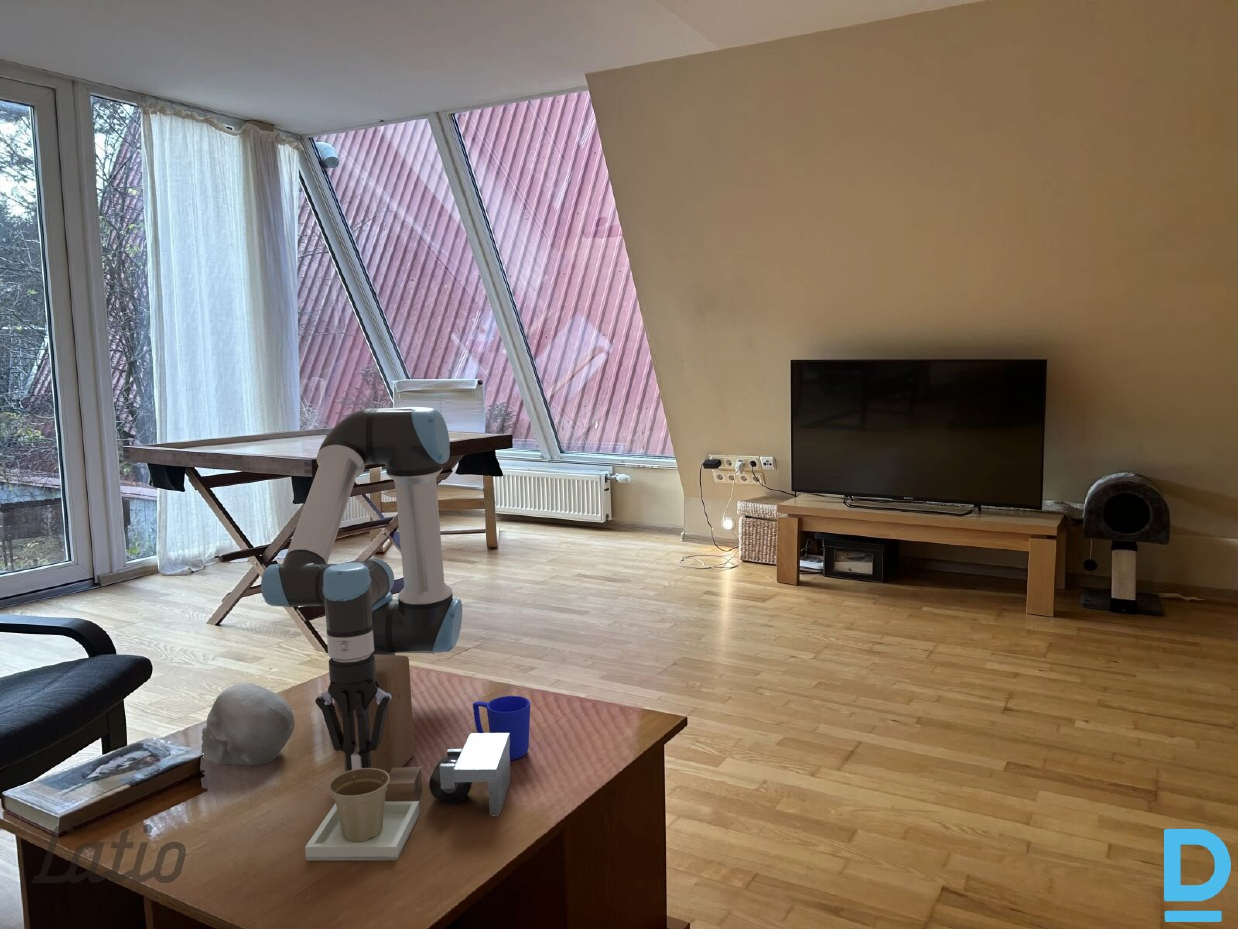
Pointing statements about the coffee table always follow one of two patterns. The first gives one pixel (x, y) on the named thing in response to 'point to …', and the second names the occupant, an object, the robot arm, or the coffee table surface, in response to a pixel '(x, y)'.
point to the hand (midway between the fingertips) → (360, 787)
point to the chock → (404, 784)
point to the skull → (246, 726)
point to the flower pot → (360, 802)
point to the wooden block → (391, 714)
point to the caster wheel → (474, 770)
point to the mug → (508, 721)
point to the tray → (382, 847)
